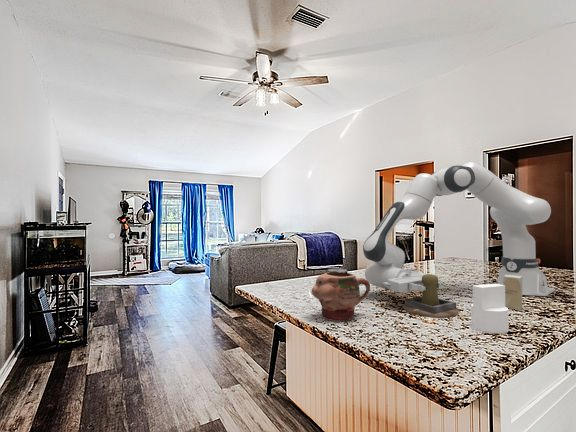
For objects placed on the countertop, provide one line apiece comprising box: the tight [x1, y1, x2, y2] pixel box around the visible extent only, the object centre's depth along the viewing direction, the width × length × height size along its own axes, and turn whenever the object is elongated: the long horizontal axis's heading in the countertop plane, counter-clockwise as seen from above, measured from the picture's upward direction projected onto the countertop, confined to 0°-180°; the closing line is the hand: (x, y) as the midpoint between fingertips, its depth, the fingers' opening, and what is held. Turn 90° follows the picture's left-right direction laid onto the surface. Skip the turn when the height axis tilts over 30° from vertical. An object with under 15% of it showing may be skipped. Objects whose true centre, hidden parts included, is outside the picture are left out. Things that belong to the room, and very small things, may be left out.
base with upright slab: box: [470, 283, 510, 334], centre depth 91 cm, size 9×9×12 cm
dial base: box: [403, 296, 460, 319], centre depth 109 cm, size 17×17×3 cm
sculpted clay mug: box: [311, 271, 371, 322], centre depth 103 cm, size 20×12×14 cm, turn 110°
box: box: [503, 275, 523, 311], centre depth 110 cm, size 5×4×11 cm
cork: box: [421, 273, 440, 306], centre depth 109 cm, size 6×6×11 cm
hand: (432, 287), depth 108 cm, fingers open, 7 cm apart
